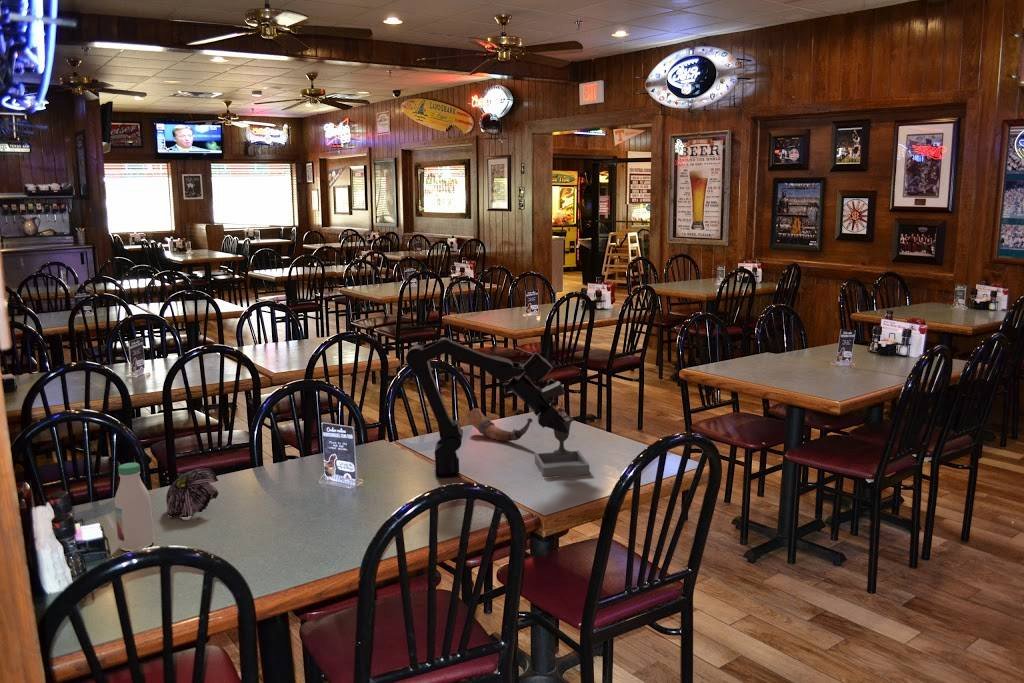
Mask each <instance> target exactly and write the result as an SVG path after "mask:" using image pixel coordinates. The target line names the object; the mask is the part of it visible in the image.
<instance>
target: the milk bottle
mask: <svg viewBox="0 0 1024 683" xmlns="http://www.w3.org/2000/svg"><path fill="white" fill-rule="evenodd" d="M117 470H118V471H117V472H118V477H120V480H119V483H118V487H117V490H116V492H115V496H114V510H115V511H114V512H115V522H116V532H117V540H118V547H121V548H126V549H127V548H128V549H134V548H138V547H141V546H144V545H147V544H149V543H151V542H153V541H154V542H155V531H154V530H155V529H154V522H153V514H152V512H153V511H152V505H151V504H152V503H151V496H150V493H149V491H148V489H147V487H146V486H145V484H144V483H143V481H142V479H141V476H140V474H141V466H140V464H139V462H127V463H122V464H120V465H119V466H118V468H117ZM142 548H144V547H142ZM134 550H136V549H134Z"/></svg>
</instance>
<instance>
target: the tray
mask: <svg viewBox="0 0 1024 683" xmlns="http://www.w3.org/2000/svg"><path fill="white" fill-rule="evenodd" d="M569 451H570V453H569V454H567V455H556V454H554V453H553V451H552V452H550V451H549V452H535V453H534V464H535V465H537V466H536V467H538V468H537V469H538V472H541V473H540V475H541V474H542V475H541V477H542V478H543V477H547V478H556V477H555V476H562V477H570V476H569V475H576V476H587V474H589V475H590V463H588V461H587V460H586V458H585V457H584V455H583V454H582V453H581V452H580V450H569Z"/></svg>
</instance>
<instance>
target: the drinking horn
mask: <svg viewBox="0 0 1024 683" xmlns="http://www.w3.org/2000/svg"><path fill="white" fill-rule="evenodd" d="M465 419H466V420H467V422H468V423H470V425H471V426H472V427H474V428H475V429H476V430H477V431H478V433H479V434H481V435H483V436H485V437H488V438H490V439H492V440H495V439H496V441H499V440H500V441H501V442H512V441H518V440H520V439H521V438H522V437H523V435H525V434H526V433H527V431H528V430H529V428H530V424H531V423H533V421H534V420H533V419H532V418H530V417H529V418H527V419H526V421H527V422H526V424H525V425H524V426H523V427H522V428H520V429H519V430H518V429H516V428H513V430H512V431H507V430H504V429H501V428H500V427H498V426H496V425H495V423H494V422H493V421H492V420H490V419H488V418H487V416H485V415H484V414H483V412H482V411H481V410H480V408H478V407H477V408H473V409H472V410H470V411H469V412H468V413H467V414H466V416H465Z"/></svg>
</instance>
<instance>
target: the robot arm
mask: <svg viewBox="0 0 1024 683" xmlns="http://www.w3.org/2000/svg"><path fill="white" fill-rule="evenodd" d="M406 353H407V354H406V355H405V362H406V364H407V366H408V367H409V368H410V370H411V372H412V373H413V374H414V376H415V377H416V378H417V379H418V381H419V382H420V385H421V387H422V389H423V392H424V394H425V397H426V399H427V401H428V403H429V406H430V409H431V411H432V413H433V415H434V418H435V419H436V420H435V421H436V422H437V427H438V434H439V438H440V439H439V440H438V441H437V442H436V443H435V448H434V474H435V475H434V476H435V478H436V477H437V479H439V478H438V477H442V478H453V477H459V473H460V459H459V456H458V455H457V451H458V450H459V449H460V448H461V446H462V440H463V434H464V429H462V426H460V421H459V419H458V418H457V419H453V418H452V417H451V416H450V414H449V411H448V408H447V407H446V404H445V402H444V399H443V396H442V394H441V391H440V390H439V387H438V385H437V383H436V380H435V378H434V376H433V373H432V365H431V362H430V361H431V360H433V359H436V358H438V357H439V356H441V355H444V354H445V355H448V356H451V357H454V358H456V359H457V360H460V361H463V362H465V363H468V364H471V366H472V365H473V366H475V367H477V368H480V369H482V370H483V371H484V372H486V373H487V374H489V375H490V376H492V377H493V378H495V379H496V380H498V381H499V382H502V383H503V392H504V393H503V394H505V395H507V394H508V393H509V392H511V391H512V392H513V393H514V394H515V395H516V396H517V397H518V398H519V399H520V400H521V402H523V405H524V406H526V407H528V408H529V409H530V410H532V412H533V413H534V415H535V416H537V423H538V424H539V426H540V427H542V428H543V429H544V428H547V429H548V428H549V429H552V430H553V431H554V430H557V431H560V432H563V433H565V434H566V433H567V432H568V429H567V428H566V427H565V425H564V424H563V422H562V421H561V420H560V418H559V411H558V408H557V402H556V400H555V399H556V398H558V397H560V396H564V395H565V393H566V392H565V390H564V387H563V386H562V385H563V384H561V381H558V380H556V381H555V380H554V379H553V378H550V379H549V380H547V385H545V387H543V388H541V387H540V386H536V385H535V384H534V383H535V382H536V383H537V382H541V381H542V380H543V379H544V378H545V377H546V376H547V375H548V374H549V373H550V372H551V371H552V370H553V369H554V367H553V366H552V365H551V363H550V362H549V361H548V360H547V359H546V358H545V357H543V356H541V355H540V354H539V353H538V352H536V351H534V353H533V354H532V355H531V357H530V358H528V360H527V361H526V362H525V363H521V362H513V361H512V360H511V359H509V358H506V357H502V356H498V355H489V354H486V353H483V352H480V351H478V350H476V349H473V348H471V347H468V346H465V345H464V344H461V343H458V342H456V341H453V340H451V339H450V338H448V337H442V338H439V339H438V340H434V341H431V342H428V343H425V344H422V345H421V344H415V345H413V346H411V347H410V348H409V349H408V351H407V352H406ZM510 390H511V391H510Z"/></svg>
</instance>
